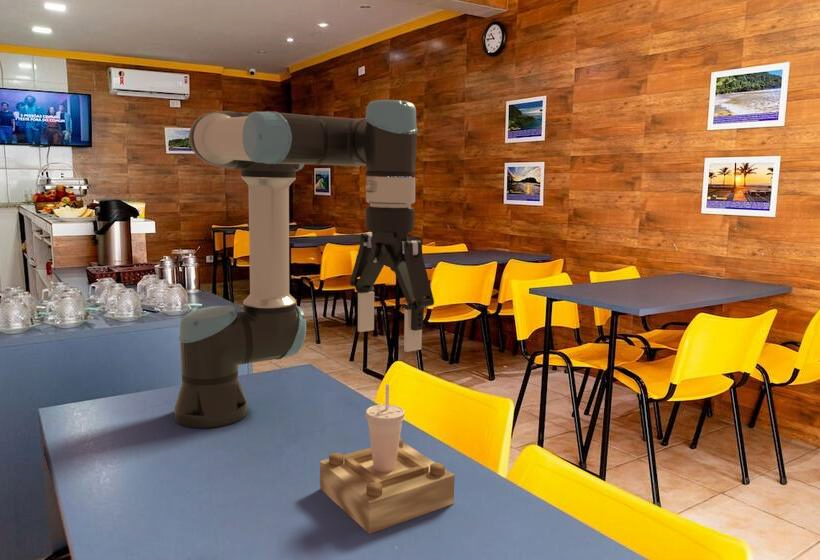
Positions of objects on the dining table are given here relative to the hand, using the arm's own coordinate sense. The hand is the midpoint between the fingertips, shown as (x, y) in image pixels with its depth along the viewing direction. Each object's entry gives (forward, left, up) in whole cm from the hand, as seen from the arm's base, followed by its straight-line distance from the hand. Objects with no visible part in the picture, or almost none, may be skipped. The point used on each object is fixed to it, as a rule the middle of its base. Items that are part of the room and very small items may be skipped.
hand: (388, 340), depth 99 cm
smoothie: (0, 0, -22) cm, 22 cm away
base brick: (0, 0, -27) cm, 27 cm away
